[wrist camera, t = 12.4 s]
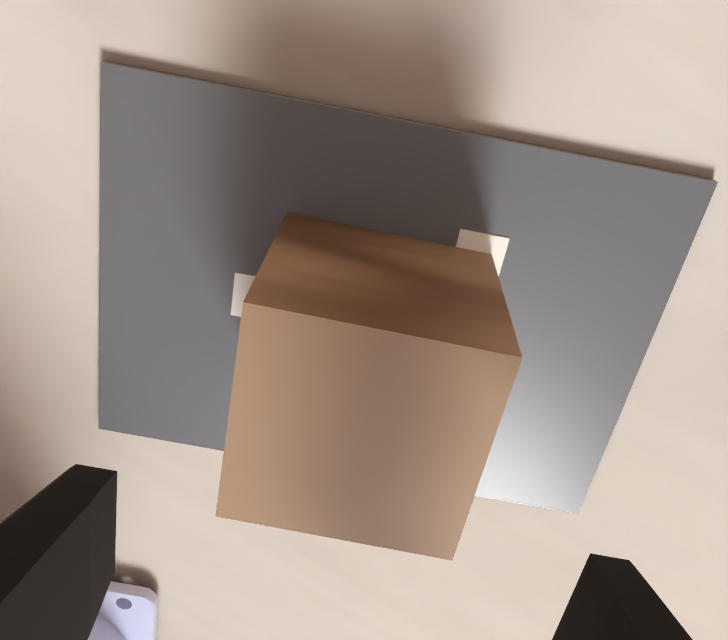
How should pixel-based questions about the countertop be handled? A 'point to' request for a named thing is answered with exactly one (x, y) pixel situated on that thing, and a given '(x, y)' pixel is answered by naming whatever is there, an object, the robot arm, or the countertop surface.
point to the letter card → (386, 214)
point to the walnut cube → (366, 387)
